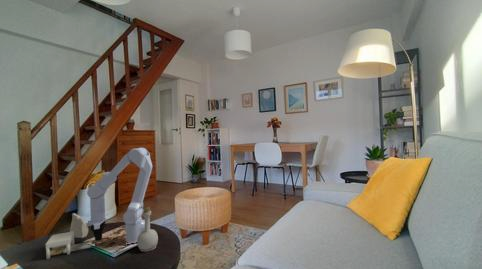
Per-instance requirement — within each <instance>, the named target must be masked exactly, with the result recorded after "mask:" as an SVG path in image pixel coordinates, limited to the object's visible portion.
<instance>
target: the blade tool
mask: <svg viewBox="0 0 482 269" xmlns="http://www.w3.org/2000/svg"><path fill="white" fill-rule="evenodd" d="M101 241H102V242H103V237H102V238H101V240H99V241H96V243H97V242H101ZM90 246H92V245H88V244H86V243H85V242H81V243H77V244H74V245H71V246H70V253H71V252H76V251H80V250H85V249H89V248H91V247H90ZM62 254H67V246H66V247H64V251H63V252H62Z"/></svg>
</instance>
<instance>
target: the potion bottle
mask: <svg viewBox="0 0 482 269" xmlns="http://www.w3.org/2000/svg"><path fill="white" fill-rule="evenodd" d="M142 216H143V218H144V220H145V230H144V231H142V232H141V233H140V234H139V236H138V239H137V243H136V244H137V247H138V249H139V251H140V252H144V253H145V252H150V251H153V250H155V249H156V248H157V245H158V241H159V235H158V233H157V232H158V231H156V230H155V229H153V228H151V216H152V210H151V207H150V206H148V207H145V208H143V212H142Z"/></svg>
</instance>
